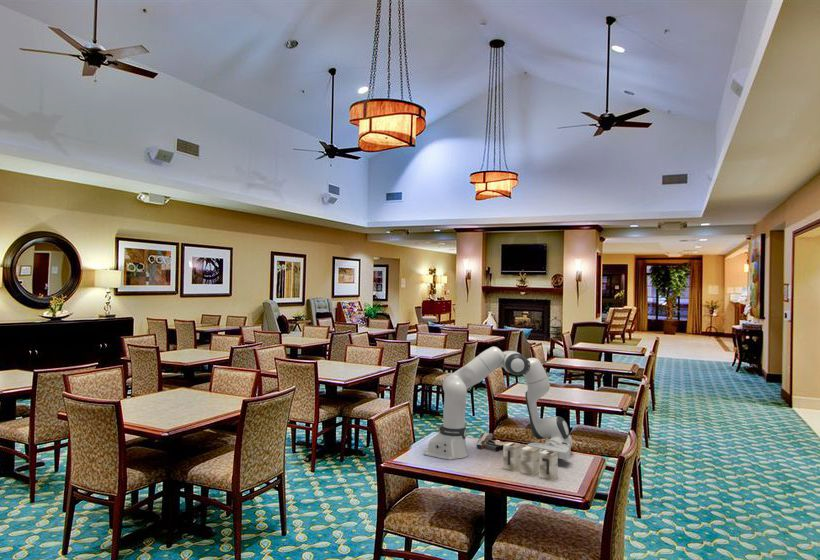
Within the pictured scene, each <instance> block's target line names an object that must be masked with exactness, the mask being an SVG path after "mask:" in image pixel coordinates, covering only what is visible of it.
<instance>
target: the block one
mask: <svg viewBox="0 0 820 560" xmlns="http://www.w3.org/2000/svg"><path fill="white" fill-rule="evenodd" d="M502 445H503V450H502V452H503V456H502V457H503V460H502V461H503V462H502V465H503V466H502V469H503V470H507V471H511V472H518V471H519V470H521V449H522V444H519V443H514V442H510V441H509V442H507V443H504V444H502Z"/></svg>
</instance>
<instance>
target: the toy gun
mask: <svg viewBox="0 0 820 560" xmlns="http://www.w3.org/2000/svg"><path fill="white" fill-rule="evenodd" d="M493 438H494V435H493V433H491V432H490V433H488V432H487V433H486V432H483V433H481V435H480V437H479V438H478V440H477V442H476V448H477V449H478V450H481V451H483V450H489V451H492V452H496V453H497V452H500V451H503V445H504V444H502V445H501V444H497V443H496V441H494V440H493Z"/></svg>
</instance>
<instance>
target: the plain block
mask: <svg viewBox="0 0 820 560" xmlns="http://www.w3.org/2000/svg"><path fill="white" fill-rule="evenodd" d="M520 474H523V475H526V476H530V477H534V476H536V475H537V474H538V475H539V448H534V447H529V446H527V445H526V446H524V447H521V469H520Z"/></svg>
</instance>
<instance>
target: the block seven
mask: <svg viewBox="0 0 820 560" xmlns="http://www.w3.org/2000/svg"><path fill="white" fill-rule="evenodd" d="M558 459H559V458H558V452H554V451H549V450H544V451H542V452H540V453H539V473H538V475H539V477H538V478H540V479H543V480H546V481H551V482H553V481H555V480H556V479H557V478H558V475H559V472H558V471H559V470H558V469H559V465H558V463H559V462H558V461H559V460H558Z"/></svg>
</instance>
